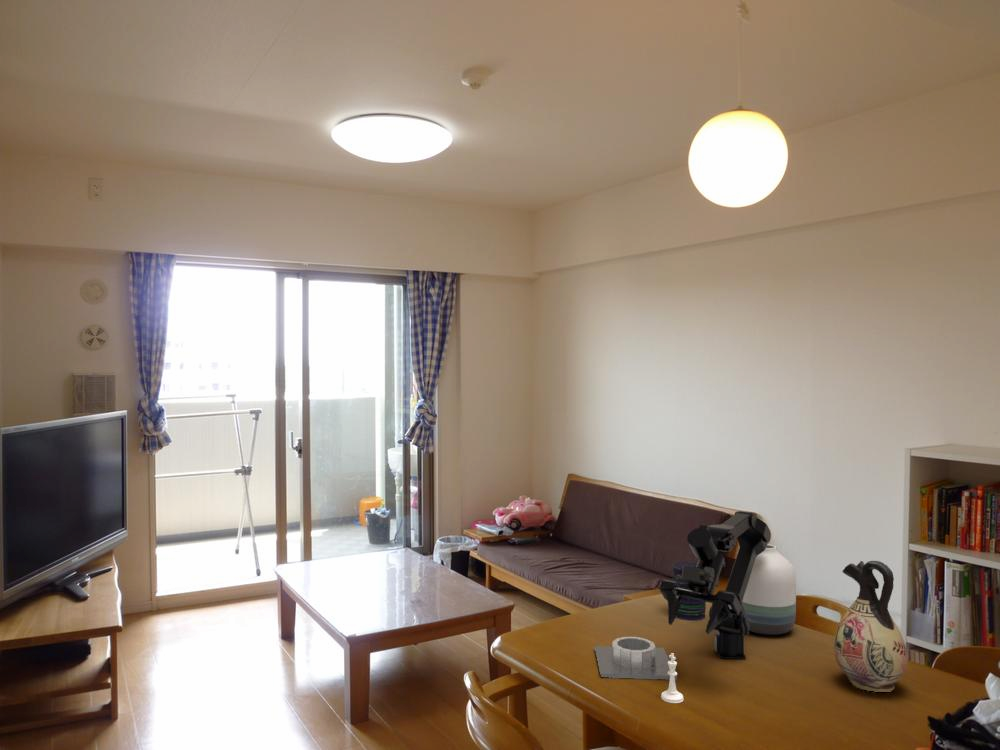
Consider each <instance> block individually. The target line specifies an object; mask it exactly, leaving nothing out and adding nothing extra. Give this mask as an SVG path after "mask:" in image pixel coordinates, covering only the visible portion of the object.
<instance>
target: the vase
mask: <svg viewBox="0 0 1000 750" xmlns="http://www.w3.org/2000/svg"><path fill="white" fill-rule="evenodd" d="M793 566H794V565H792V563H791V562H790V561H789V560H788V559H787V558H786V557H784V556H783V555H782V554H781V552H778V550H777V546H776V545H774V544H770V543H768V544H767V547H766V549H765V551H763V552H762V553H760V554H759V555H758V556H757V557H756V559H755V562H754V566H753V569H752V572H751V575H750V578H749V581H748V585H747V588H746V591H745V594H744V597H743V601H742V602H743V605H744V608H745V611H746V613H745V615H746V617H747V619H748V621H749V623H750V629H749V632H750V633H755V634H760V635H765V636H778V635H782V634H783V635H784V634H786V633H788V632H790V631H791V630H792V629H793V627H794V625H795V623H796V622H795V621H796V613H797V612H796V611H797V579H796V571H795V568H794V567H793Z"/></svg>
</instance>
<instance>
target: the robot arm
mask: <svg viewBox="0 0 1000 750" xmlns="http://www.w3.org/2000/svg"><path fill="white" fill-rule="evenodd" d="M686 538H687V539H686V540H687V542H688V545H689V547H690V549H691V551H692V553H693V555H694V556H695V558H696V559H697V560H698V561H697V566H696V567H689V566H683V571H682V576H681V579H682V580H685V581H686V582H685V585H686V586H688V587H689V588H688V589H683V588H680V586H679V585H678V583H677V582H675V581H672V580H669V579H662V580H661V581H660V582H659V585H658V590H659V592H660V593H661V595H662V597H663V598H664V599H665V600H666V601H667V607H668V610H667V612H668V615H667V616H668V619H667V620H668V621H667V622H668V625H670V626H672V625H673V623H674V621H675V618H676V615H677V612H678V610H679V607H680V603H679V601H681V599H682V597H685V598H690V599H695V600H700V601H705V602H706V603H709V604H711V606H710V607H709V611H708V615H709V617H708V622H707V623H706V629H705V633H706V634H708V635H709V634H710V633H712V632H713V630H714V631H716V633H715V634H714V645H713V646H714V647H713V648H714V651H715V653H716V654H717V656H718V657H719V658H720V659H730V660H733V659H734V660H739V659H740V660H745V659H746V658H747V657H746V655H745V654H744V653H745V645H744V643H745V642H744V641H745V636H748V635H750V631H749V629H750V623H749V621H748V619H747V617H746V615H745V613H746V611H745V608H744V605H743V602H742V601H743V597H744V594H745V591H746V588H747V585H748V581H749V578H750V575H751V572H752V569H753V566H754V562H755V559H756V557H757V556H758V555H759V554H760V553H762V552H763V551H765V549H766V547H767V544H770V541H771V538H772V532H771V529H770V528H769V526H768V524H767V523H766V522H764V521H763V520H761V519H760V518H758V517H757V515H756V514H755V513H754V512H751V511H743V510H738V511H736V512H734V515H732V516H731V517H729V518H727V520H725V521H724V522H722V523H721V524H711V525H707V524H700V525H699V527H697V528H694V529H692V530H691V531H690V532H689V533H688V534H687V536H686ZM737 542H738V546H739V548H738V552H737V554H736V556H735V559H734V564H733V566H732V569H731V572H730V574H729V575H730V576H729V578H728V581H727V585H726V587H725V590H722V589H720V590H718V591H717V592H716V594H714V592H715V590H716V587H717V588H718V587H719V584H720V582H719V578H720V574H721V572H722V568H725V567H726V561H725V557H724V554H723V553H722V552H726V553H730V552H732V551H733V549H734V548H735V547H736V543H737Z"/></svg>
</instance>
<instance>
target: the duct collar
mask: <svg viewBox="0 0 1000 750" xmlns="http://www.w3.org/2000/svg"><path fill="white" fill-rule="evenodd" d="M611 644H612V646H609V645H604V646H602V645H595V646H594V653H595V652H596V653H595V656H596V657H597V658H596V662H597V661H598V662H597V667H598V666H599V667H598V671H599V675H601V676H600V678H601V677H609V678H608V679H619V678H634V679H633V680H657V679H662V680H661V681H664V680H663V679H665V681H670V675H669V674H668V671H670V669H669V665H668V661H671V659H670V657H669V655H668V654H667V652H666V650H665V648H664V647H657V646H656V645H655V642H653V641H651V640H649V639H647V638H643V637H639V636H622V637H617V638H615V639H614V640H613V641H612V643H611ZM611 677H612V678H611ZM675 681H678V674H677V675H675Z"/></svg>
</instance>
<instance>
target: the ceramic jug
mask: <svg viewBox="0 0 1000 750" xmlns="http://www.w3.org/2000/svg"><path fill="white" fill-rule="evenodd" d="M873 570H875V571H878V572H879V573H880V574H881V575H882V579H883V580H882V581H883V585H882V588H881V592H880V593H881V594H880V597H879V598H878V596H877V595H878V594H877V591H876V590H878V589H879V588H880V584H879V582H878V580H877V579H876V576H875V575H874V571H873ZM842 573H843V575H846V576H847V577H849V578H851V579H852V580H854V581H855V582H856V583H857V584H858V585H859V592H858V596H857V597H856V599H855V600H854V602H853V603H852V604H851V605H850V606H849V608H848V609H847V611H845V614H844V615H843V617H842V618H841V620H840V622H839V623H838V625H837V628H836V633H835V636H834V642H833V653H834V654H833V655H834V656H835V657H834V658H835V661H836V663H837V664H838V666H839V668H840V669H841V670H842V671H843V673H844V674H845V675H846V677H847V678H848V681H849V680H850V681H849V683H850V682H851V683H852V684H853V685H854V686H853V685H852V686H853V687H855V686H857V687H858V688H861V689H864V690H867V691H866V692H869V691H874V692H873V693H875V692H890V693H892V692H893V691H894V690H895V684H896V683H897V682H898V681H900V680H901V678H903V676H904V674H905V673H906V671H907V669H908V668H907V666H908V650H907V647H906V643H905V640H904V637H903V635H902V633H901V631H900V629H899V627H898V626H897V624H896V622H895V621H894V620H893V618H892V616H891V614H890V611H889V602H890V600H891V597H892V594H893V590H894V581H895V579H894V573H893V571H892V570H891V568H890V567H889V566H888V565H887V564H885V563H884V562H882V561H880V560H869V561H867V562H865V563H864V561H862V560H860V562H859V563H857V565H856V564H854V563H851V562H850V563H848V565H846V566H845V567H844V569H843V570H842ZM858 688H857V689H858ZM861 689H860V690H861ZM893 689H894V690H893ZM864 690H863V691H864ZM892 690H893V691H892ZM891 691H892V692H891Z"/></svg>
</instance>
